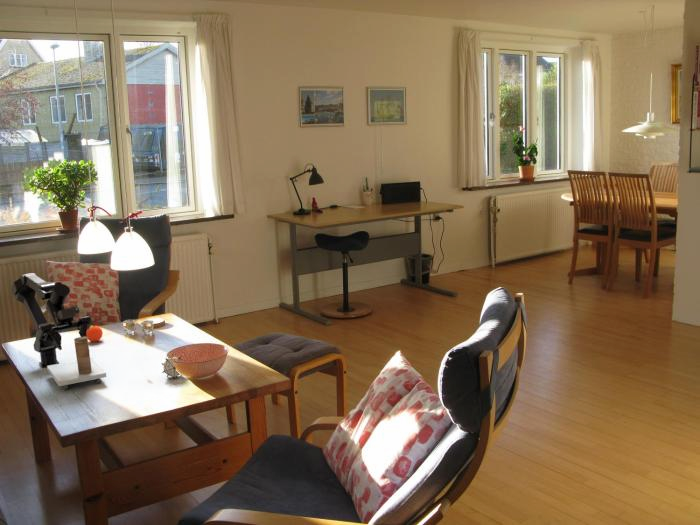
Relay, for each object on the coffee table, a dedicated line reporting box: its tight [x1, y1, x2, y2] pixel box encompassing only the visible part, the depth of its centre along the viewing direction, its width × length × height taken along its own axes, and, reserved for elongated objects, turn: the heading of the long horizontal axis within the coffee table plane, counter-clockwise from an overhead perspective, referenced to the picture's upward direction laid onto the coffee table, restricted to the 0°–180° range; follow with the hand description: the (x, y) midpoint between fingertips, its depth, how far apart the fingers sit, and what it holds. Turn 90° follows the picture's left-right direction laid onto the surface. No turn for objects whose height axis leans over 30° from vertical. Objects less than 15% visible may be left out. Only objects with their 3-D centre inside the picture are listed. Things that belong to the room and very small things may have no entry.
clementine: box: [86, 325, 103, 343], centre depth 308 cm, size 8×7×7 cm
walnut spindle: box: [73, 336, 92, 374], centre depth 253 cm, size 4×4×12 cm
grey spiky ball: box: [161, 354, 182, 380], centre depth 257 cm, size 9×8×10 cm
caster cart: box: [46, 357, 107, 391], centre depth 258 cm, size 22×16×4 cm
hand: (73, 346), depth 258 cm, fingers open, 9 cm apart
